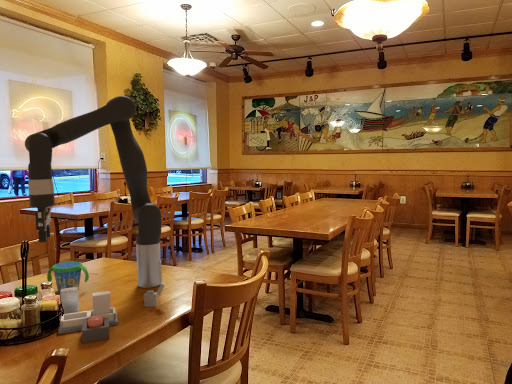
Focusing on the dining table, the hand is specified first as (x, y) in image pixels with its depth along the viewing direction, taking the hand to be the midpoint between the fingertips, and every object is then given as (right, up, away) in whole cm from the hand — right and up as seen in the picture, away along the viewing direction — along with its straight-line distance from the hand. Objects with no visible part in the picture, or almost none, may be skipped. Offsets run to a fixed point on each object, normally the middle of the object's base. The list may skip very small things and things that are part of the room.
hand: (44, 239), depth 132 cm
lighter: (+37, -23, +2) cm, 44 cm away
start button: (+26, -23, -21) cm, 40 cm away
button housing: (+26, -25, -21) cm, 42 cm away
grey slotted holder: (+20, -25, -12) cm, 34 cm away
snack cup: (-1, -22, +19) cm, 29 cm away
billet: (+10, -24, -3) cm, 26 cm away
